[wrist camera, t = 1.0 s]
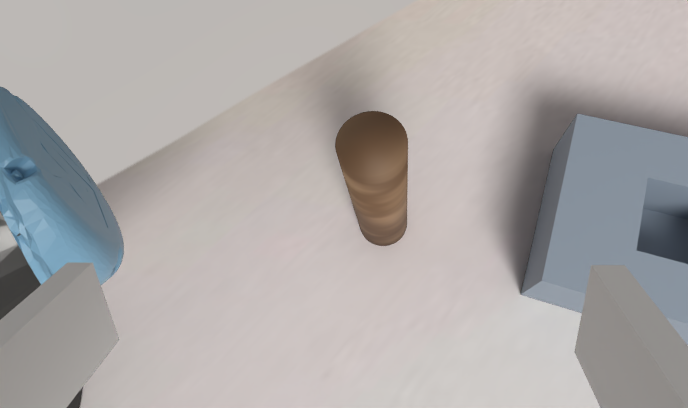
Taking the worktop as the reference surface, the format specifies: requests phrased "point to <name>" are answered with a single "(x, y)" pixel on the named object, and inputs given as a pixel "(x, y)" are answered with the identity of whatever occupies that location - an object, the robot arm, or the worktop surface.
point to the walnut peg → (376, 174)
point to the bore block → (614, 216)
